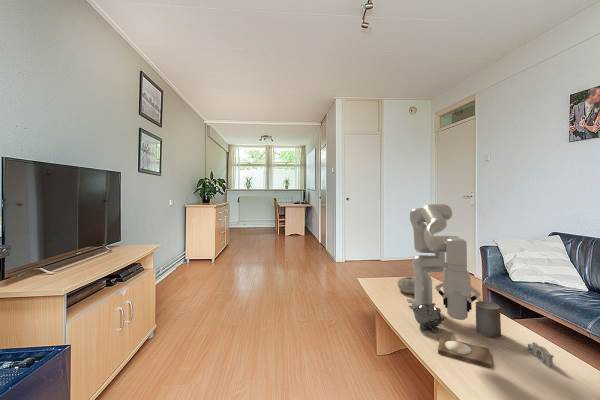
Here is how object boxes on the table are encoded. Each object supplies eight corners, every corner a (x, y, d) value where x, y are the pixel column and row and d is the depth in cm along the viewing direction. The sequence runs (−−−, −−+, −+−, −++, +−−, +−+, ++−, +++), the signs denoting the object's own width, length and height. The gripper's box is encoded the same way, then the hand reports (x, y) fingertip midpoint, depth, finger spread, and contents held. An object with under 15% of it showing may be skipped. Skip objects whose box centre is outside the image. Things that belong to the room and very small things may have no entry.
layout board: (437, 353, 107) (437, 349, 107) (440, 339, 117) (440, 336, 117) (491, 367, 97) (491, 363, 97) (488, 352, 107) (488, 348, 107)
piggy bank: (448, 334, 122) (448, 310, 122) (415, 331, 125) (415, 308, 125) (440, 323, 133) (439, 301, 133) (409, 321, 136) (409, 299, 136)
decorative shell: (395, 287, 189) (394, 273, 189) (420, 288, 186) (420, 274, 186) (401, 296, 171) (401, 281, 171) (429, 297, 169) (429, 282, 169)
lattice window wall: (526, 350, 108) (526, 336, 108) (531, 351, 108) (531, 337, 108) (549, 368, 97) (548, 353, 97) (554, 369, 96) (554, 353, 96)
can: (471, 321, 104) (470, 292, 104) (451, 320, 105) (450, 291, 105) (463, 313, 111) (462, 286, 111) (444, 312, 113) (444, 285, 113)
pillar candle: (496, 329, 126) (495, 299, 126) (504, 339, 116) (503, 307, 117) (473, 326, 129) (472, 297, 129) (479, 336, 120) (478, 304, 120)
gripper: (432, 266, 110) (433, 307, 110) (482, 272, 101) (482, 317, 100) (434, 263, 116) (435, 301, 116) (481, 268, 107) (481, 310, 107)
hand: (457, 308), depth 108 cm, fingers closed on can, 7 cm apart
